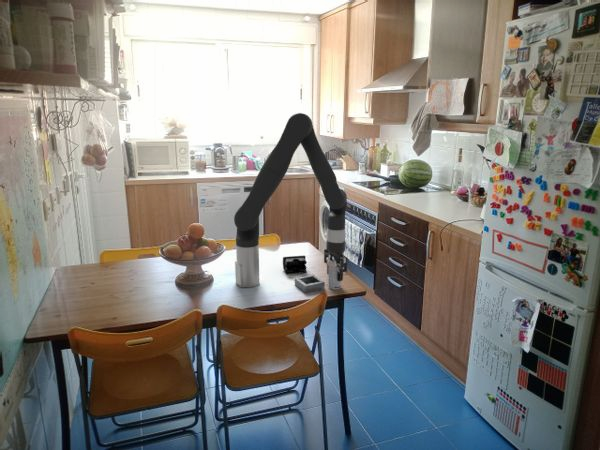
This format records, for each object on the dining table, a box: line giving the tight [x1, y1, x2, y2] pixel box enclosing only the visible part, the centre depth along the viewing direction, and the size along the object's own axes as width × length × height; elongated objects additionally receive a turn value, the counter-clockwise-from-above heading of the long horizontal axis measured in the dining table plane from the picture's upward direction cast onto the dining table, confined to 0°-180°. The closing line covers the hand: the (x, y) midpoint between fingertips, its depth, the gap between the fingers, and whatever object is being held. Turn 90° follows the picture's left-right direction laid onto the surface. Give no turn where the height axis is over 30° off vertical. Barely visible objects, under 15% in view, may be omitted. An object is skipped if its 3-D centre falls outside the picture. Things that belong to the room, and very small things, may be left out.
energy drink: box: [327, 259, 342, 291], centre depth 182 cm, size 5×5×12 cm
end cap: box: [282, 255, 308, 275], centre depth 200 cm, size 10×7×7 cm
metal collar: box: [294, 274, 326, 294], centre depth 183 cm, size 9×9×3 cm
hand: (334, 277), depth 182 cm, fingers open, 7 cm apart
